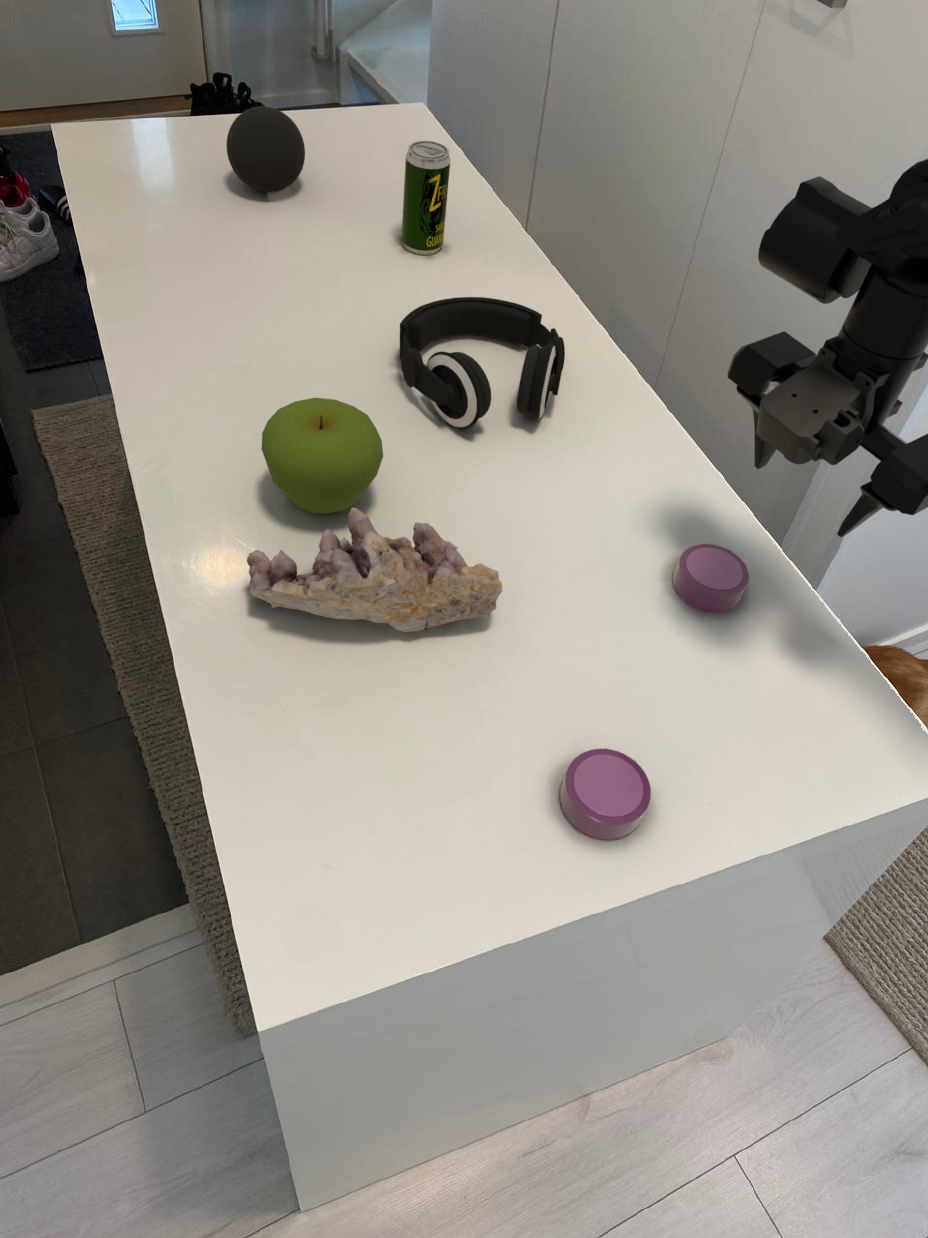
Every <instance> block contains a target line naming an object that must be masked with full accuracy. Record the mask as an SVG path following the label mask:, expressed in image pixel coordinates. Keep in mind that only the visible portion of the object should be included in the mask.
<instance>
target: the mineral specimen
mask: <svg viewBox="0 0 928 1238" xmlns="http://www.w3.org/2000/svg"><path fill="white" fill-rule="evenodd" d="M347 522H348V523H347V524H348V531H349V532H350V534H351V535H350V536H351V537H350V538H351V542H350V541H349V539H347V538H346V537H343V538H342V539H339V537H338V535H337V534H336V533H333V531H332V530H331V529H329V528H325V530H324V531H323V533H322V535H321V537H320V540H319V545H318V547H319V550H318V552H317V555H316V556H315V557H314V562H313V564H312V572H310V573H306V572H305V573H301V574H298V565H297V563H296V562H295V561H294V559H293V558H291V557H290V556H289V555H288V554H287V553H286V552H285V551H283V549H280V550H279V551H278V553H277V554H276V555H274V556H273V558H272V559H271V560H270V558H269V557H268V556H267V555H266V554H265V552H264V551H261V550H259V549H255V550H253V551H252V552H249V553H248V555H247V558H246V563H247V565H248V566H249V569H248V574H249V577H250V580H249V582H248V583H249V591H248V592H249V594H250V595H251V596H252V597H255V598H257V599H261V600H263V602H266V603H267V604H270V606H271V607H272V608H273V609H274V608H278V607H279V608H286V609H292V610H298V611H300V612H301V611H302V612H305V613H310V614H312V615H316V616H321V617H324V618H331V619H336V620H352V621H353V620H366V621H369V622H372V623H374V624H375V623H376V624H388V625H390V626H391V627H392V628H394V629H395V630H397V631H401V632H403V633H408V632H419V631H422V630H424V629H429V628H434V627H438V626H442V625H445V624H448V623H452V622H457V621H461V620H465V619H466V620H467V619H475V618H476V619H477V618H484V617H488V616H490V615H491V613H492V612H494V611H495V610H496V609H497V601H498V599H499V596H500V595H501V594H502V593H503V582H502V581H501V580H500V576H499V575H500V574H499V571H498V570H496V569H492V568H491V567H489V566H487V565H485V564H483V563H476V564H475V565H473V566H469V565H468V564H467V563H466V560H465V559H464V557H463V556H462V555H461V553H460V552H459V551H458V549H459V547H458V546H457V545H455V544H453V543H452V542H451V541H447V540H445V539H443V538H442V537H441V535H440V533H438V531H437V530H436V529H435V528H434V527H433V526H432V525H430V524H429V523H427V522H414V525H413V529H412V530H413V535H412V540H410V539H409V538H407V537H405V536H402V537H397V538H395V539H394V538H391V537H389V536H383V535H382V534H379V533H378V531H377V530H376V529H375V526H374V524H373V523H372V522H371V520H370V517H369V516H367V514H366V513H365V512H363V511H361V510H360V509H358V508H357V507H351V508H350V511H349V513H348V515H347ZM412 541H413V544H414V547H413V546H412Z"/></svg>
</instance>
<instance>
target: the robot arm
mask: <svg viewBox="0 0 928 1238" xmlns="http://www.w3.org/2000/svg"><path fill="white" fill-rule="evenodd" d="M757 253H758V254H757V258H758V259H757V260H758V263H759V265H760V266H761V267H763V268H764V269H765V270H767V271H768V272H771V273H772V274H774V275H775V276H777V277H778V278H780V279H782V280H783V281H785V282H787V283H788V284H790V285H792V286H793V287H794V288H796V289H798V290H799V291H801V292H803V293H805V294H806V295H808V296H809V297H811V298H813V299H814V300H816V301H817V302H819V303H820V304H823V305H828V304H831V303H833V302H835V301H836V300H838V299H839V298H843V299H849V298H851V297H854V295H855V294H856V296H855V298H854V300H853V302H852V304H851V307H850V309H849V310H848V313H847V315H846V317H845V320H844V322H843V323H842V326H841V328H840V330H839V332H838V334H837V335H835V336H834V337H831V338H828V339H826V340H825V341H824V343H823V345H822V347H820V348H819V350H818V352H817V353H816V352H814V351H813V350H812V349H810V348H809V347H807V346H806V345H805V344H803V343H802V342H800V341H799V340H797V339H796V338H795V337H793V336H792V335H791V334H789V333H788V332H786V331H780V332H778V333H775V334H772V335H769V336H767V337H764V338H761V339H758V340H755V341H753V342H751V343H747V344H745V345H742V346H741V347H740V348H739V349H738V350H737V351H736V352H735V353H734V354H733V357H732V359H731V361H730V365H729V367H728V369H727V379H729V380H730V381H731V382H732V383H733V384H735V385H737V386H736V387H735V388H736V393H737V394H738V395H739V396H741V397H742V398H743V399H744V400H745V402H746V403H747V404H748V405H749V406H750V407H751V409H752V414H753V415H752V416H753V428H754V429H753V431H754V437H753V438H754V446H753V447H754V449H753V450H754V451H753V452H754V453H753V454H754V456H753V457H754V459H753V461H754V462H753V464H754V466H753V467H754V468H755V469H757V470H760V469H762V468H764V467H766V466H767V464H768V463H769V462H770V460H771V459H772V457H773V456H774V454H775V453H776V451H778V452H779V453H780V454H782V456H783V457H784V459H786V460H787V461H788V462H789V463H792V464H793V465H803V464H808V463H809V462H811V461H813V462H818V461H820V460H822V461H825V462H826V463H827V464H829V465H830V466H836V465H838V464H839V463H840V462H842V461H843V460H844V459H846V458H847V457H848V456H850V455H851V454H852V453H854V452H855V451H857V449H858V448H859V447H861V448H863V449H864V450H865V451H867V452H868V453H869V454H871V455H872V456H873V457H875V458H876V459H877V460H879V461H880V462H879V463H878V464H876V466H875V468H874V469H873V471H872V472H871V474H870V476H869V478H870V481H868V482H866V483H864V484H862V485H860V487H859V489H860V493H861V495H860V496H859V497H858V499H857V501H856V502H855V504H853V506H852V508H851V509H850V510H849V512H848V514H846V516H845V518H844V519H843V521H842V522H841V524H840V527H839V529H838V531H837V533H836V535H837V536H838V537H839V538H843V537H844V536H846V535H848V534H850V533H852V532H853V531H854V530H855V529H857V528H858V527H859V526H861V525H862V524H863V523H865V522H866V521H867V520H869V519H870V518H872V517H873V516H875V515H876V514H877V513H878V512H879V511H881V510H882V509H885V510H886V511H889V512H897V511H898V512H900V513H901V514H904V515H909V516H915V515H916V514H918V513H920V512H922V511H924V510H926V509H928V433H926V434H924V435H922V436H920V437H918V438H915V439H914V440H912V441H910V442H909V441H908V442H907V441H905V440H904V439H903V438H902V437H900V436H899V435H897V434H896V433H895V432H893V431H892V430H891V429H889V428H888V427H886V426H885V425H884V423H885V422H886V420H887V419H889V418H890V417H893V416H894V415H898V412H899V410H900V408H901V407H902V405H903V403H904V402H903V401H901V400H900V399H899V397H900V395H901V393H902V391H903V390H904V388H905V386H906V384H907V382H908V381H909V379H910V378H911V375H912V374H913V372H916V371H917V370H921V369H922V368H924V366H925V364H926V363H927V361H928V353H927V352H925V350H926V348H928V347H927V346H928V158H925V159H923V160H920V161H917V162H916V163H914V164H913V165H912V166H910V167H909V168H908V169H906V170H905V171H904V172H902V174H900V177H899V178H898V179H897V181H895V183H894V185H893V187H892V189H891V192H890V194H889V197H888V199H885V200H884V201H883V202H881V203H878V204H877V205H875V206H873V207H871V206H869V205H867V204H865V203H863V202H862V201H860V200H858V199H856V198H854V197H852V196H851V195H849V194H847V193H846V192H844V191H842V190H840V189H839V188H838V187H837V185H835V184H834V183H833V182H831V181H829V180H828V179H827V178H825V177H823V176H821V175H819V176H815V177H813V178H810V179H807V180H805V181H801V182H800V183H799V185H798V188H797V191H796V194H795V196H794V198H792V199H791V200H789V202H788V203H786V205H785V206H784V207H783V208H782V209H781V211H779V213H778V214H777V216H776V217H775V218H774V220H773V221H772V223H771V225H770V226H769V228H767V229H766V230H765V231H764V233H763V235H762V237H761V240H760V244H759V247H758V252H757Z"/></svg>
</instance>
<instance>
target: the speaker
mask: <svg viewBox="0 0 928 1238" xmlns="http://www.w3.org/2000/svg"><path fill="white" fill-rule="evenodd" d="M226 153H227V154H226V155H227V159H228V162H229V164H230V167H231V169H232V171H233V172H234V173H235V175H236V176H237V177H238V178H239V180H240V181H241V182H242V183H243V184H245V185H246V186H247V187H249V188H251V189H253V190H256V191H258V192H262V193H277V192H280V191H284V190H285V189H287V188H289V187H290V186H292V185H293V184H294V183H295V182H296V181H297V179H298V178H299V177H300V174H301V173H302V171H303V169H304V164H305V159H306V148H305V141H304V138H303V135H302V133H301V131H300V129H299V128H298V125H296V122H294V121H293V119H292V118H291V117H290V116H289V115H287V114H286V113H284V112H283V111H281V110H279V109H277V108H274V107H270V106H254V107H251V108H248V109H246V110H244V111H243V112H241V113H240V114H239V115H238V116H237V117H236V118H235V119H234V120H233V121H232V123H231V125H230V127H229V130H228V133H227V137H226Z"/></svg>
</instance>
